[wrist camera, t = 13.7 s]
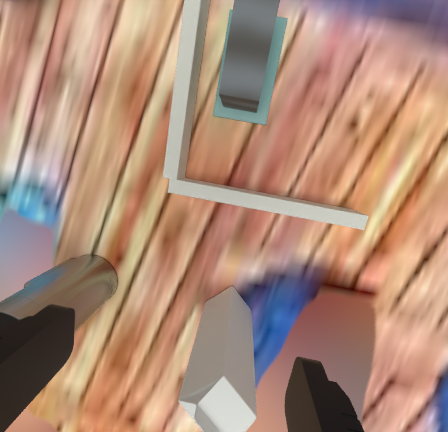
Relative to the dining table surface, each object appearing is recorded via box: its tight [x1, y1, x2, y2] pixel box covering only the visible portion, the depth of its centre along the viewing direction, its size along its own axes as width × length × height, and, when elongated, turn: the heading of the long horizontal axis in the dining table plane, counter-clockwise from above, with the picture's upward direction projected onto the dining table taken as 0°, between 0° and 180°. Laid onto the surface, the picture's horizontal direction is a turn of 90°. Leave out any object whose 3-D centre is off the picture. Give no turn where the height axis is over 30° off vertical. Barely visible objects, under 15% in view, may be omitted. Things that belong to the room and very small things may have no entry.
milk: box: [178, 286, 257, 432], centre depth 33 cm, size 6×6×22 cm
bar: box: [219, 0, 280, 113], centre depth 32 cm, size 11×5×7 cm, turn 169°
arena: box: [163, 0, 368, 230], centre depth 34 cm, size 29×30×5 cm
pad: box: [213, 9, 288, 125], centre depth 35 cm, size 8×14×1 cm, turn 170°
